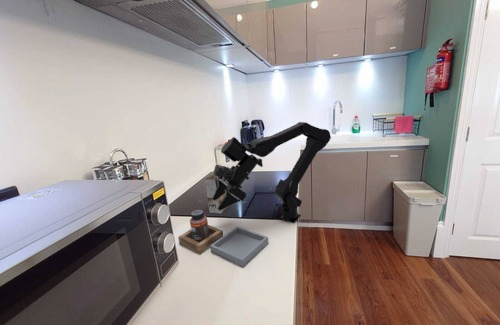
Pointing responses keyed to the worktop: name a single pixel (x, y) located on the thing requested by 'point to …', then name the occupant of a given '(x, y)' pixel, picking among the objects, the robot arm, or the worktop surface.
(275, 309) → the worktop surface
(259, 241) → the grey tray
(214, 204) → the coffee box
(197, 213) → the supplement bottle
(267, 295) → the worktop surface
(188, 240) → the walnut holder
